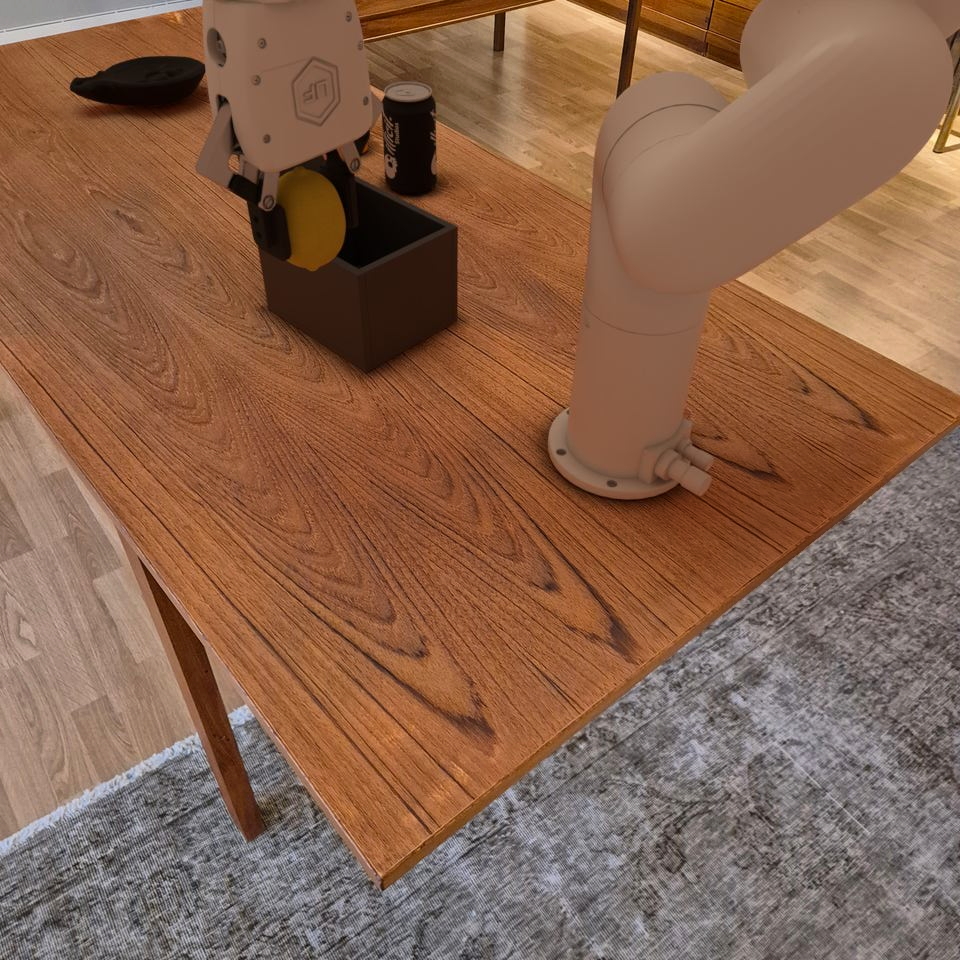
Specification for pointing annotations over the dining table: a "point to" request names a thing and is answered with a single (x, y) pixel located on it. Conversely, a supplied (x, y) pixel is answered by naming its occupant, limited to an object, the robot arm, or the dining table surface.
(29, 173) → the dining table surface
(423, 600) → the dining table surface
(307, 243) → the lemon
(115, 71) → the oil lamp
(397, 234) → the dark open storage box
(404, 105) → the beverage can
